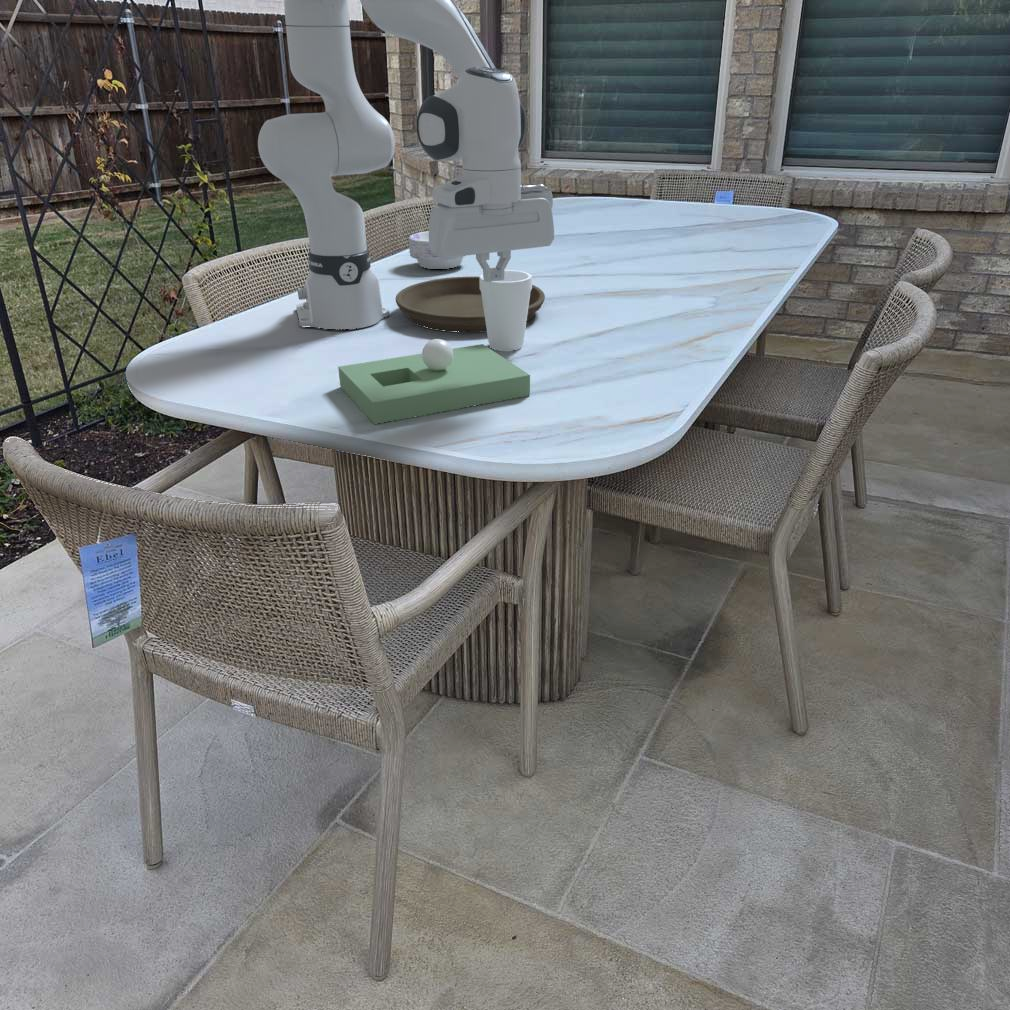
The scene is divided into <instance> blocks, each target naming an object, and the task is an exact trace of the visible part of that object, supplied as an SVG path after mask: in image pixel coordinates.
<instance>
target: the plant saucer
mask: <svg viewBox="0 0 1010 1010" xmlns="http://www.w3.org/2000/svg"><path fill="white" fill-rule="evenodd" d="M545 298H546V296H545V293H544V291H543V290H542V289H541V288H540V287H539V286H537V285H534V284H532V290H531V292H530V299H529V307H528V314H527V322H528V321H530V320H531V319H532V318H533V317H534V315H535V313H536V312H538V311H539V310H540V309H541V308H542V305H543V304H544V302H545ZM395 302H396V303H395V304H396V306H397V307H398V308H399V309H400V311H401V312H402V314H404V315H406V316H407V318H408V320H409V321H411V322H412V323H413V322H414V323H413V324H415V323H416V324H415V325H417V324H418V325H417V326H419V325H421V326H420V327H422V326H425V327H428V328H432V329H431V330H433V329H438V330H437V331H439V330H445V331H444V332H447V331H457V332H456V333H481V332H480V331H487V328H486V322H485V315H484V308H483V301H482V295H481V290H480V281H479V276H453V277H443V278H436V279H435V278H434V279H430V280H425V281H421V282H418V283H415V284H412V285H409V286H407V287H405V288H403V289H401V290H400V291H399V292H398V293H397V294H396V296H395ZM425 327H424V328H425ZM428 328H427V329H428ZM458 331H459V332H458Z"/></svg>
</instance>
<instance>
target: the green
mask: <svg viewBox="0 0 1010 1010" xmlns="http://www.w3.org/2000/svg"><path fill="white" fill-rule="evenodd" d="M452 350H453V360H452V362H451V364H450V365H449V366H448V367H447V368H446V369H444V370H440V371H435V370H432V369H430V368H428V367H427V366H426V365H425V363H424V361H423V359H422V353H417V354H410V355H405V356H404V355H403V356H397V357H390V358H385V359H379V360H373V361H365V362H361V363H360V362H358V363H355V364H348V365H341V366H337V369H338V377H339V378H338V379H339V386H341V387H340V389H341V390H342V391H345V392H346V393H347V394H348V395H349V396H350V397H349V396H348V395H347V394H346V393H345V392H344V393H345V394H346V395H347V396H348V397H349V398H350V399H351V401H352V402H354V404H355V403H356V404H357V405H358V406H359V407H358V406H357V405H356V404H355V405H356V406H357V407H358V408H359V409H360V408H361V409H360V410H361V411H362V412H363V413H364V415H365V416H366V415H367V416H368V417H369V418H370V419H369V418H368V417H367V418H368V419H369V420H370V421H371V422H372V424H374V425H375V424H376V425H379V424H378V423H381V424H384V423H383V422H387V423H389V422H388V421H392V422H395V421H394V420H397V421H400V420H399V419H403V420H406V419H405V418H408V419H412V418H411V417H413V418H416V417H415V416H419V417H422V416H421V415H424V416H428V415H427V414H430V415H434V414H433V413H435V414H438V413H437V412H440V413H444V412H443V411H446V412H448V411H447V410H451V411H454V410H453V409H456V410H459V409H458V408H462V409H464V408H463V407H467V408H469V407H468V406H472V407H475V406H474V405H478V406H480V405H479V404H483V405H486V404H485V403H489V404H492V403H491V402H494V403H497V402H496V401H499V402H502V401H501V400H505V401H507V400H506V399H510V400H513V399H512V398H515V399H518V398H517V397H521V398H525V397H524V396H526V397H529V396H528V395H530V396H531V375H530V373H528V372H526V371H524V370H523V369H522V368H521V367H519V366H518V365H516V364H514V363H512V362H511V361H509V360H508V359H506V358H505V357H503V356H502V355H500V354H499V353H497V352H495V350H494V351H493V349H491V348H490V347H488V346H486V345H485V344H483V343H481V344H475V345H469V346H468V345H467V346H462V347H455V348H452Z"/></svg>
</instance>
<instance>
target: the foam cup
mask: <svg viewBox="0 0 1010 1010" xmlns="http://www.w3.org/2000/svg"><path fill="white" fill-rule="evenodd" d="M478 277H479V281H480V290H481V295H482V301H483V308H484V315H485V322H486V328H487V332H486V335H487V341H488V345H489V346H490V347H489V349H491V348H492V349H491V350H493V349H494V351H497V350H498V351H497V352H513V350H515V351H519V350H520V348H521V349H523V347H524V343H525V335H526V328H527V322H528V321H527V314H528V307H529V299H530V292H531V290H532V285H533V275H532V274H531V273H530V272H526V271H523V270H513V269H512V270H511V269H510V270H509V269H504V280H500V281H492V282H486V281H484V279H483V273H481V274H480V276H478ZM526 321H527V322H526ZM518 349H519V350H518Z"/></svg>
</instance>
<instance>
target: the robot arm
mask: <svg viewBox="0 0 1010 1010" xmlns="http://www.w3.org/2000/svg"><path fill="white" fill-rule="evenodd" d="M359 1H360V4H361V6H362V9H363V10H364V11H365V13H366V14H367V16H368V18H369V19H370V20H371V22H372V23H373V24H374V25H375V26H376V27H377V28H379V29H380V30H381V31H383V32H385V33H387V34H389V35H391V36H393V37H396V38H400V39H404V40H407V41H411V42H413V43H416V44H418V45H422V46H423V47H426V48H428V49H430V50H432V51H434V52H436V53H437V54H439V55H440V56H441V57H442V58H443V59H444V60H446V62H447V63H448V64H449V66H450V67H451V69H452V71H453V73H454V75H455V76H456V78H457V79H458V81H456V82H455V83H454V84H453V85H452V86H449V87H448V88H447V89H445V90H442V91H441V92H438V93H436V94H433V95H430V96H428V97H426V98H425V100H424V101H423V102H422V103H421V106H420V107H419V110H418V111H417V116H416V133H417V138H418V142H419V145H420V146H421V149H423V151H424V152H425V153H426V155H427V156H429V157H430V158H431V159H433V160H435V161H440V162H453V161H455V162H456V161H462V166H461V175H459V176H458V177H454V178H453V179H451V180H449V181H446V182H444V183H442V184H439V185H438V186H436V187H434V188H433V189H432V191H431V193H432V194H431V197H432V200H433V202H434V203H436V204H435V205H434V206H433V207H432V209H431V211H430V214H429V218H428V219H429V220H428V231H429V248H430V250H431V252H432V253H433V254H434V255H436V256H437V257H440V258H449V257H457V256H464V257H466V256H472V255H473V256H474V255H475V259H476V261H477V263H478V265H479V266H480V268H481V269H482V274H483V279H484V281H486V282H492V281H500V280H504V270H506V268H507V266H508V264H509V262H510V260H511V258H512V255H511V254H512V251H519V250H526V249H534V248H544V247H545V248H546V247H550V246H551V245H552V243H553V241H555V227H554V226H555V224H554V223H555V222H554V216H553V205H554V201H553V200H554V196H553V193H552V191H551V189H550V188H549V187H547V186H545V185H544V184H541V183H540V184H539V183H538V184H534V185H529V184H527V185H522V163H521V160H520V159H521V158H520V155H519V149H520V148H521V147H522V144H523V142H524V140H525V138H526V134H527V129H528V118H527V113H526V110H525V107H524V105H523V103H522V101H521V99H520V95H519V89H518V85H517V80H516V79H515V76H514V75H513V74H512V73H510V72H509V71H507V70H504V69H500V68H496V66H495V64H494V63H493V61H492V59H491V57H490V56H489V54H488V52H487V50H486V48H485V47H484V45H483V43H482V41H480V39H479V37H478V36H477V34H476V32H475V30H474V28H473V27H472V24H471V23H470V22H469V20H468V19H467V17H466V16H465V14H464V12H463V11H462V9H460V8H459V6H458V5H457V4H456V3H455V2H454V1H453V0H359ZM283 5H284V19H285V20H284V21H285V22H284V23H285V25H286V26H285V30H286V40H287V41H286V42H287V50H288V59H289V60H288V61H289V69H290V72H291V74H292V76H293V78H294V79H295V80H296V81H297V83H299V84H300V85H302V86H303V87H305V88H306V89H307V90H310V91H311V92H314V93H315V94H318V95H320V96H321V99H322V100H323V104H324V107H325V108H324V109H325V111H324V112H311V113H310V112H306V113H304V112H303V113H289V114H285V115H281V116H278V117H274V118H269V119H267V120H266V121H265V122H264V123H263V125H262V126H261V128H260V130H259V133H258V137H257V149H258V155H259V157H260V159H261V161H262V162H261V163H263V165H264V167H265V168H266V169H267V171H269V172H270V174H272V175H273V176H275V177H276V178H278V179H279V180H280V181H282V182H283V183H285V185H286V186H287V187H288V188H289V189H290V190H291V191H292V193H293V195H295V196H296V199H297V200H298V202H299V204H300V206H301V209H302V211H303V216H304V219H305V225H306V229H307V230H306V231H307V237H308V244H309V252H308V256H307V257H308V258H307V262H308V270H309V273H308V276H307V277H306V280H305V281H304V287H298V288H297V296H298V297H297V298H298V300H305V301H304V302H301V303H298V304H296V312H297V313H298V315H297V318H299V320H298V325H299V324H300V325H299V327H300V326H310V327H320V328H325V329H324V330H327V329H336V330H335V331H345V329H349V330H357V329H362V328H367V327H370V326H374V325H375V324H377V323H379V322H381V320H383V319H385V318H387V317H389V316H390V310H389V309H387V308H385V307H383V302H382V296H381V288H380V282H379V281H380V280H379V277H378V275H376V274H375V273H373V272H372V270H371V269H370V268H371V255H370V249H369V248H368V247H367V237H366V224H365V223H366V222H365V213H364V212H363V209H362V207H361V205H360V204H359V203H358V202H357V201H355V200H354V199H352V198H351V197H348V196H346V195H344V194H342V193H339V192H337V191H336V190H335V189H334V185H333V182H332V177H335V176H336V177H337V176H346V175H347V176H348V175H362V174H367V173H371V172H375V171H378V170H381V169H384V168H386V167H388V166H389V164H390V163H391V161H392V159H393V157H394V154H395V149H396V139H395V134H394V131H393V128H392V126H391V124H390V122H389V121H388V120H387V119H386V118H385V116H383V115H382V114H380V113H379V112H378V111H377V110H376V109H375V108H374V107H373V106H372V105H371V104H370V102H369V101H368V99H367V98H366V97H365V95H364V93H363V91H362V90H361V87H360V84H359V82H358V79H357V76H356V71H355V64H354V56H353V50H352V48H353V47H352V40H351V39H352V38H351V28H350V27H351V26H350V17H349V16H350V14H349V13H350V12H349V7H348V6H349V5H348V0H284V3H283ZM493 253H496V254H497V256H498V257H499V258H498V261H497V263H496V266H495V267H490V265H489V263H488V262H487V261H489V260H490V254H493ZM384 317H385V318H384ZM320 328H319V329H320ZM356 328H357V329H356ZM337 329H338V330H337ZM339 329H341V330H339ZM342 329H344V330H342Z"/></svg>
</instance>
